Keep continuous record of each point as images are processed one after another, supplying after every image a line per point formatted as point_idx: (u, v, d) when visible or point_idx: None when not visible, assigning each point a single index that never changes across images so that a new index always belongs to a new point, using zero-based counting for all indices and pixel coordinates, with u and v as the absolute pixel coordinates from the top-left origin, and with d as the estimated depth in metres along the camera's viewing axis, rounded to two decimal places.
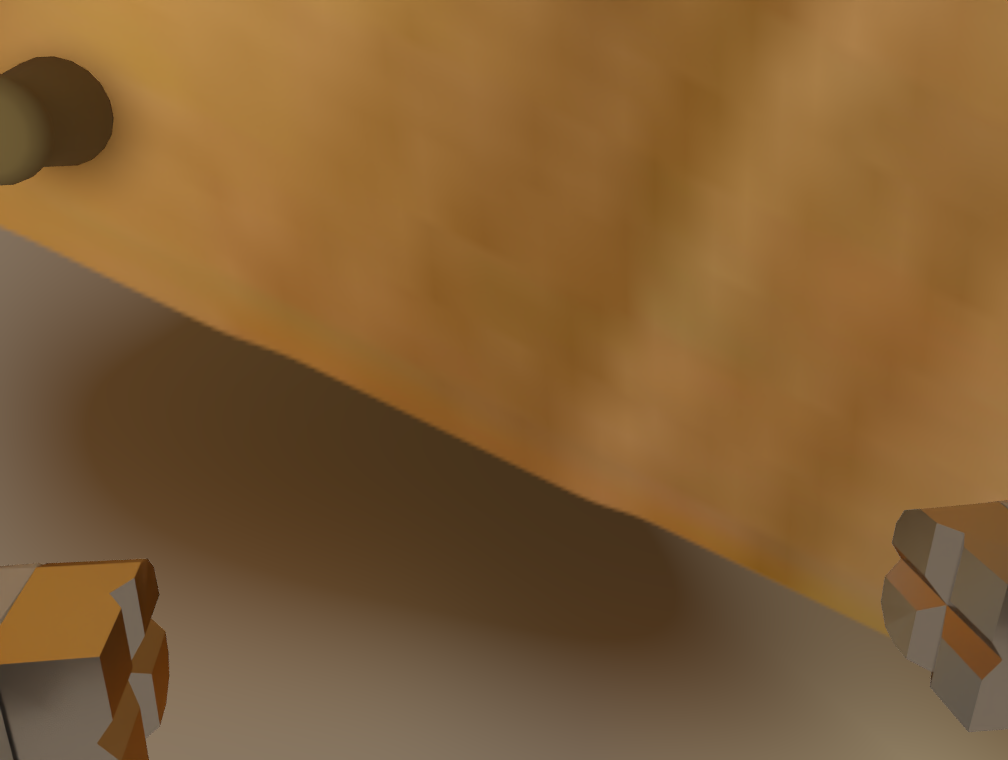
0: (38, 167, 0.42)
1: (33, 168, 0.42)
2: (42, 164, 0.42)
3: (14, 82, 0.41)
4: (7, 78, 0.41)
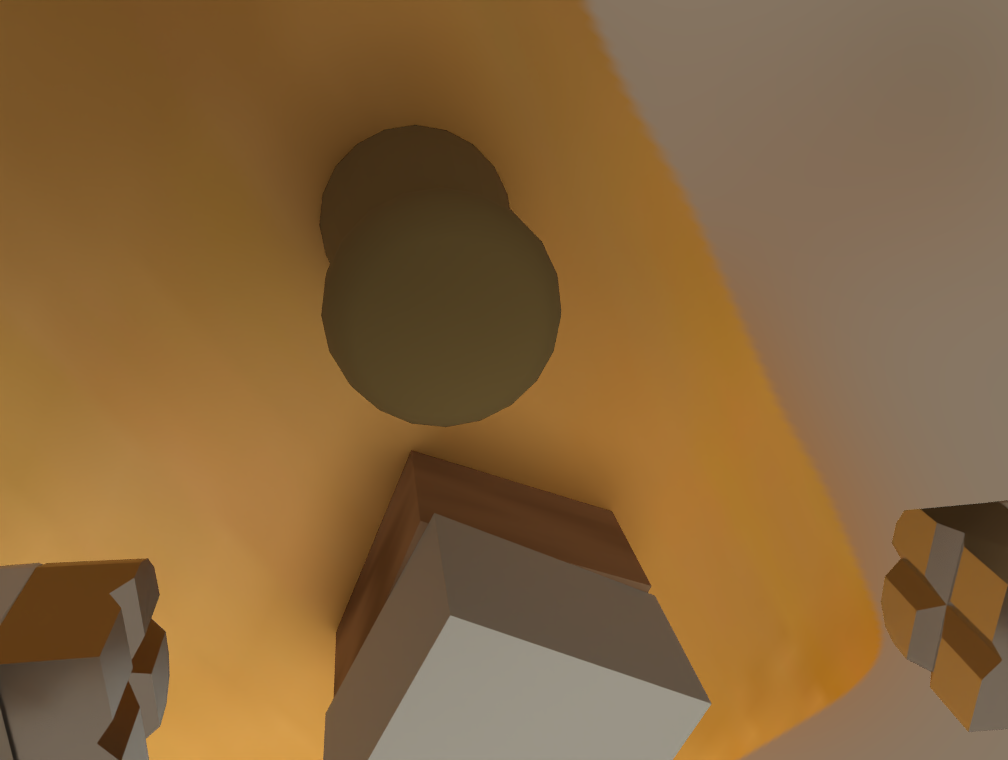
0: (406, 201, 0.18)
1: (413, 206, 0.18)
2: (397, 201, 0.18)
3: None
4: None
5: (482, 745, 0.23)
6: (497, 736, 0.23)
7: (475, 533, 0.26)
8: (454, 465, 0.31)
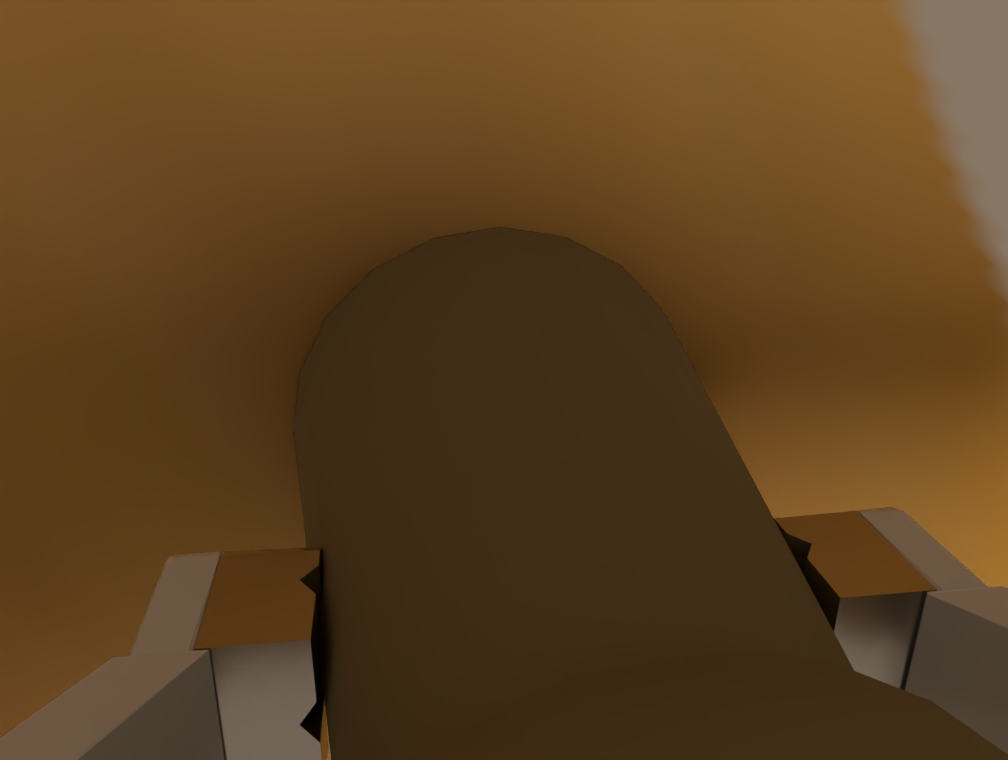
0: None
1: None
2: None
3: None
4: None
5: None
6: None
7: None
8: None
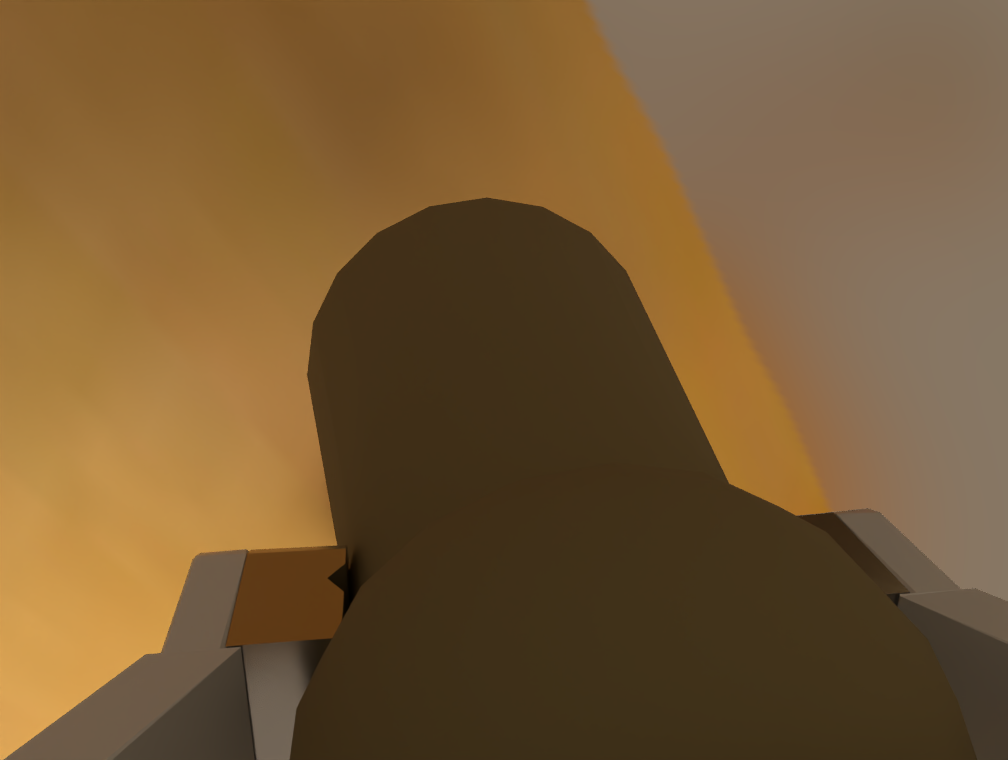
0: (549, 571, 0.05)
1: (581, 605, 0.05)
2: (517, 557, 0.06)
3: None
4: None
5: None
6: None
7: None
8: None
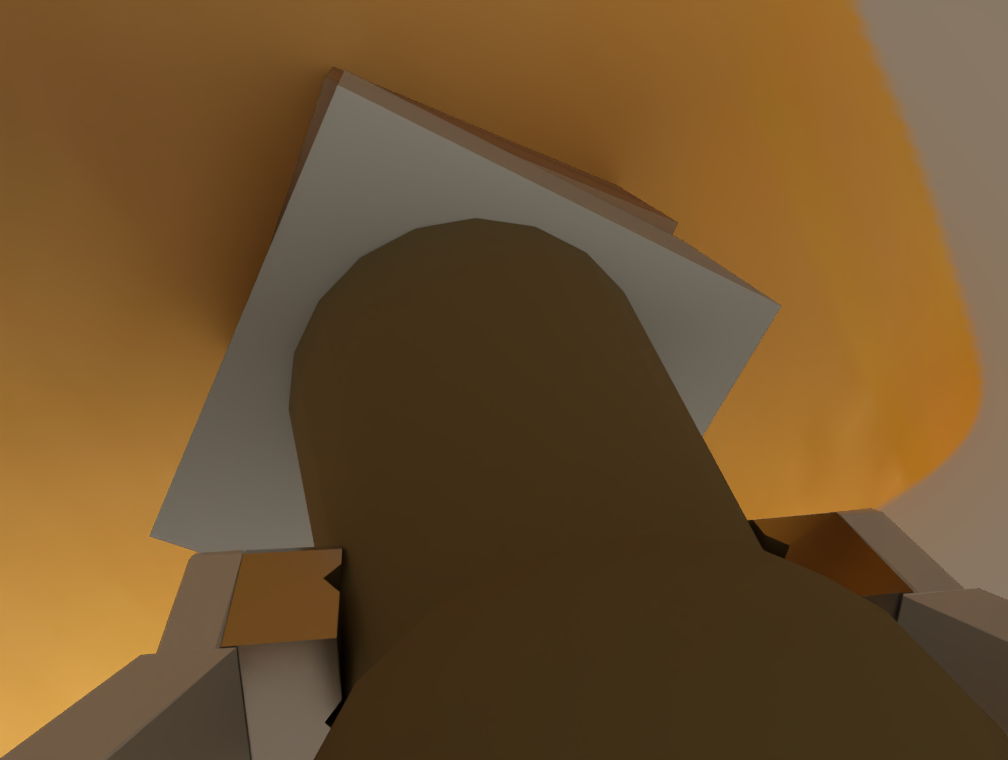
0: (582, 685, 0.05)
1: (621, 729, 0.04)
2: (543, 665, 0.05)
3: None
4: None
5: None
6: None
7: (408, 103, 0.17)
8: (395, 93, 0.22)
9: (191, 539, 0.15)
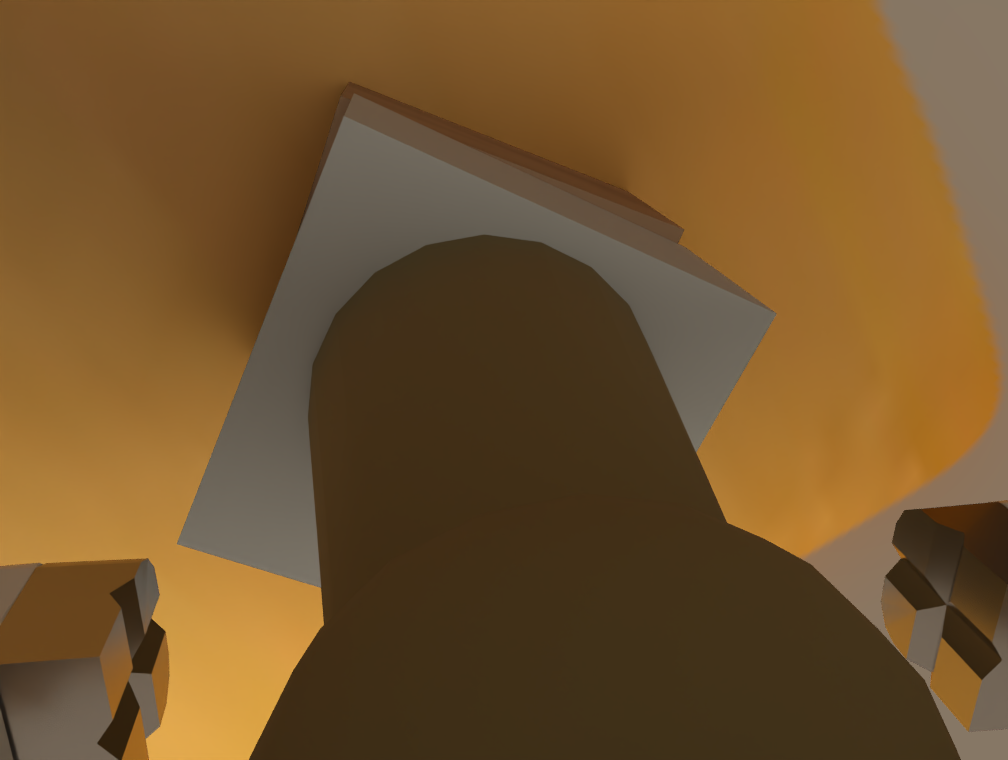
0: (497, 607, 0.05)
1: (527, 643, 0.05)
2: (466, 593, 0.05)
3: None
4: None
5: None
6: None
7: (416, 123, 0.18)
8: (409, 106, 0.22)
9: (216, 546, 0.16)
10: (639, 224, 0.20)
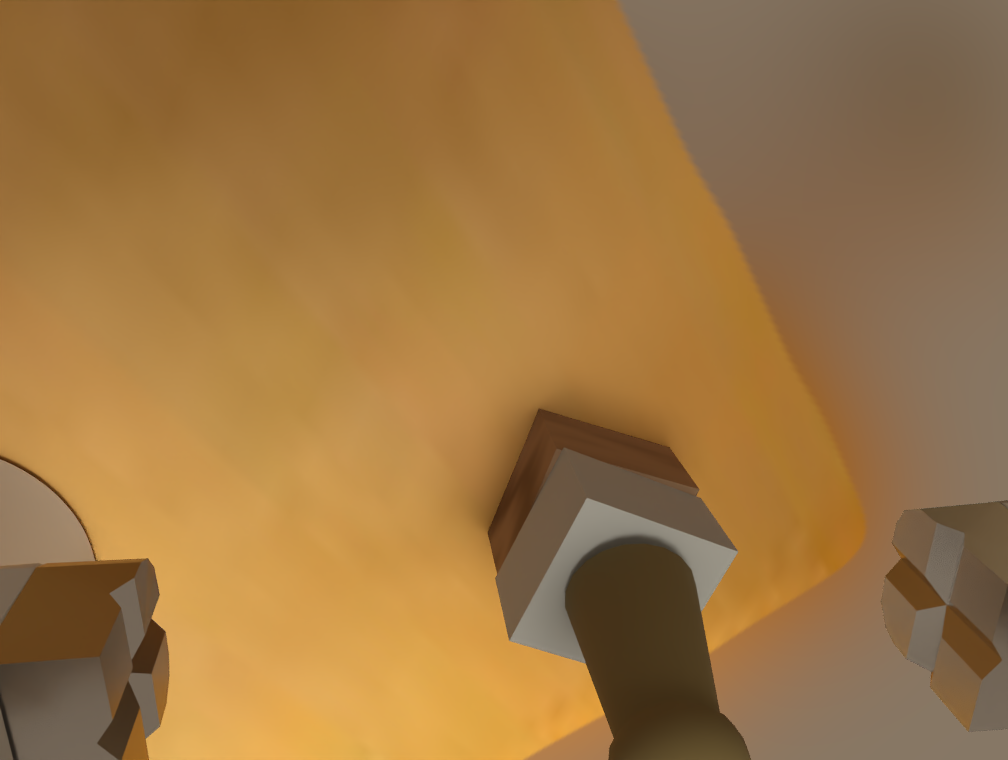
0: (678, 734, 0.30)
1: (683, 743, 0.30)
2: (671, 730, 0.30)
3: None
4: None
5: None
6: None
7: (589, 459, 0.43)
8: (567, 418, 0.47)
9: (523, 641, 0.40)
10: (679, 488, 0.44)
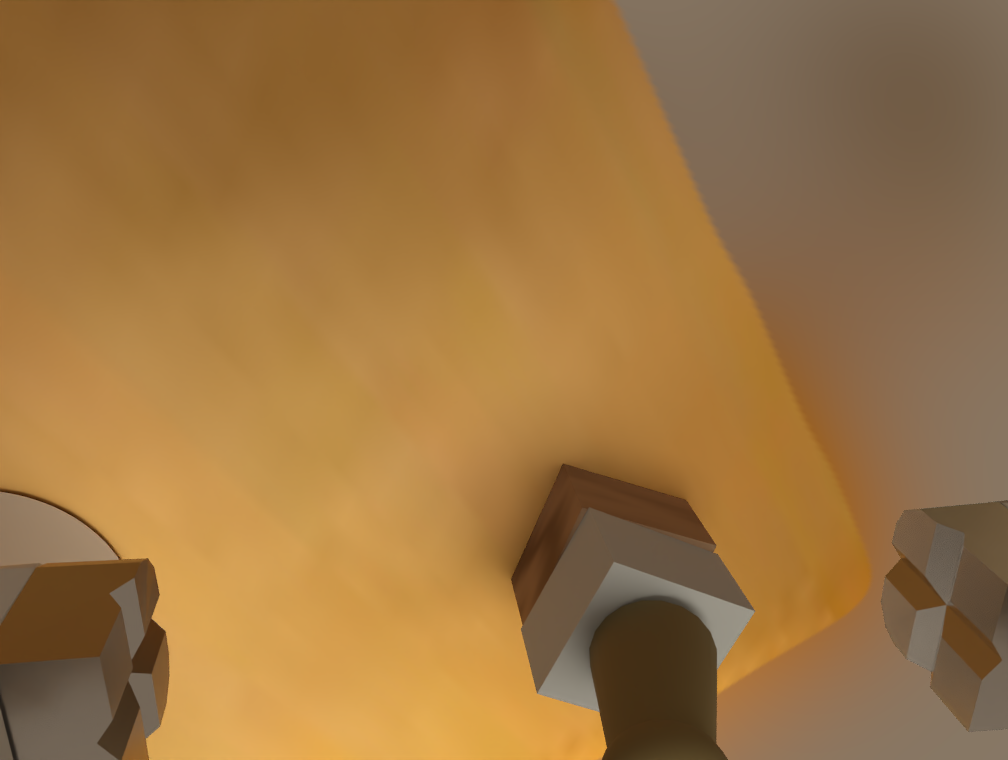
0: (677, 741, 0.32)
1: (681, 748, 0.31)
2: (672, 736, 0.32)
3: None
4: None
5: None
6: None
7: (613, 518, 0.45)
8: (589, 473, 0.49)
9: (550, 694, 0.43)
10: (698, 544, 0.47)
